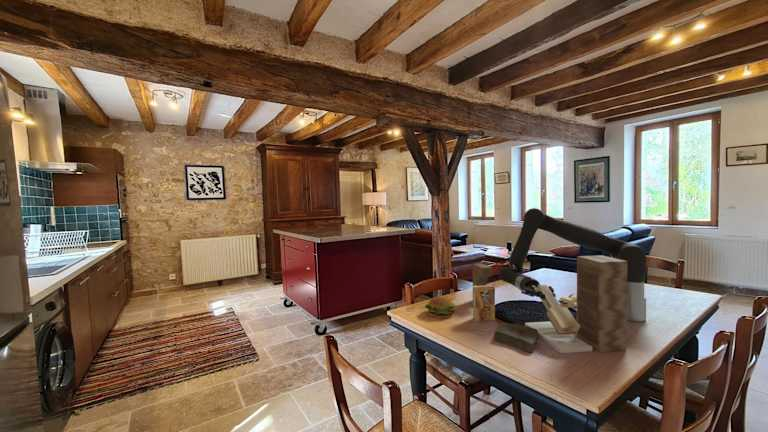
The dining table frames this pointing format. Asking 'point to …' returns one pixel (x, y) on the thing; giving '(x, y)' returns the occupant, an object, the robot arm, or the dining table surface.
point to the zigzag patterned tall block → (602, 302)
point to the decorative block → (481, 274)
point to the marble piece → (517, 336)
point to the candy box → (484, 303)
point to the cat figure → (568, 301)
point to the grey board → (559, 338)
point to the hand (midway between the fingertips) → (549, 296)
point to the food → (440, 307)
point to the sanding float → (558, 313)
